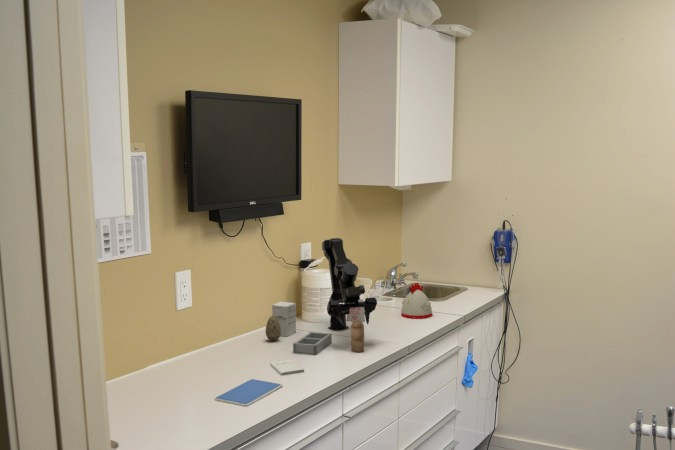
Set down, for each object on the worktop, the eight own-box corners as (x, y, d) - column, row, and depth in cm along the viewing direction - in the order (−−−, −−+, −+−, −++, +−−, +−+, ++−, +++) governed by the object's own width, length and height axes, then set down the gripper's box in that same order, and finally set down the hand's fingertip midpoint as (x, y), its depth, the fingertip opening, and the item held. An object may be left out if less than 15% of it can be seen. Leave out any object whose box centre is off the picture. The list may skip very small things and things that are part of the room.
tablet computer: (246, 409, 190) (246, 404, 190) (212, 401, 196) (212, 397, 196) (283, 388, 207) (283, 384, 207) (251, 382, 213) (251, 378, 213)
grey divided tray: (310, 340, 258) (310, 332, 258) (331, 342, 255) (331, 333, 255) (293, 352, 242) (293, 343, 242) (316, 354, 239) (315, 345, 239)
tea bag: (350, 319, 291) (350, 297, 290) (364, 321, 289) (364, 298, 288) (347, 321, 288) (346, 299, 287) (361, 323, 285) (360, 300, 284)
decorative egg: (272, 337, 264) (272, 313, 263) (284, 340, 260) (283, 315, 259) (262, 341, 259) (262, 316, 258) (274, 343, 255) (273, 318, 254)
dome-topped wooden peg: (356, 348, 247) (356, 318, 246) (366, 350, 244) (366, 320, 243) (348, 351, 244) (348, 321, 243) (358, 353, 241) (358, 322, 239)
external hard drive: (281, 377, 217) (270, 366, 229) (304, 373, 221) (292, 363, 232) (281, 372, 217) (269, 362, 229) (304, 369, 220) (292, 358, 232)
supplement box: (272, 335, 268) (271, 304, 267) (281, 330, 274) (281, 301, 273) (287, 337, 265) (286, 306, 263) (296, 332, 271) (296, 302, 270)
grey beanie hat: (394, 315, 298) (394, 283, 296) (415, 310, 307) (414, 278, 305) (418, 320, 287) (418, 287, 286) (438, 315, 297) (438, 282, 295)
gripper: (327, 279, 247) (334, 314, 237) (375, 276, 251) (384, 311, 241) (324, 296, 255) (330, 330, 245) (370, 293, 259) (378, 327, 249)
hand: (356, 324), depth 245 cm, fingers open, 9 cm apart
